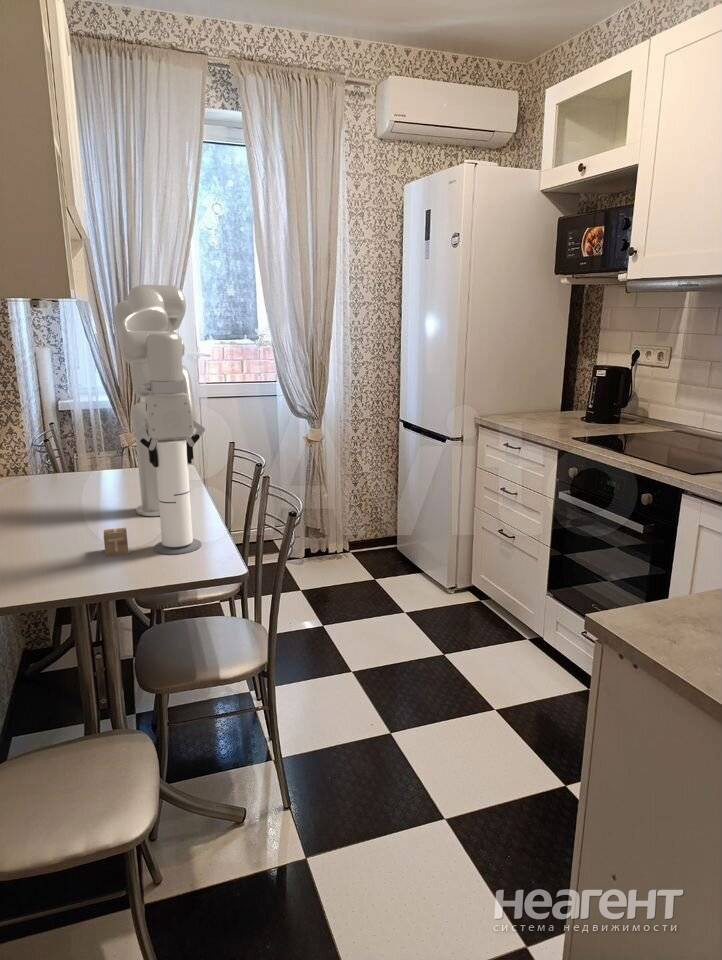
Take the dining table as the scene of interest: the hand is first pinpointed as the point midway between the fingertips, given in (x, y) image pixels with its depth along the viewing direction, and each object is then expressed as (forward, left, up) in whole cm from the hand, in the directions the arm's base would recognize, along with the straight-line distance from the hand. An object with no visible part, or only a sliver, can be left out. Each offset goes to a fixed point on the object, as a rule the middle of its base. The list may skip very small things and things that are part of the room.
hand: (172, 463), depth 149 cm
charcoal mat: (0, 0, -20) cm, 20 cm away
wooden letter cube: (+5, -13, -21) cm, 25 cm away
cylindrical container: (0, 0, -19) cm, 19 cm away
